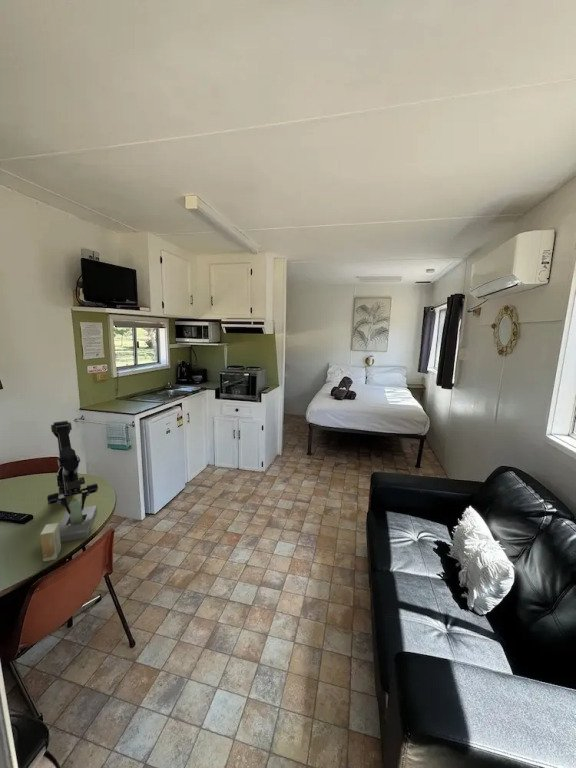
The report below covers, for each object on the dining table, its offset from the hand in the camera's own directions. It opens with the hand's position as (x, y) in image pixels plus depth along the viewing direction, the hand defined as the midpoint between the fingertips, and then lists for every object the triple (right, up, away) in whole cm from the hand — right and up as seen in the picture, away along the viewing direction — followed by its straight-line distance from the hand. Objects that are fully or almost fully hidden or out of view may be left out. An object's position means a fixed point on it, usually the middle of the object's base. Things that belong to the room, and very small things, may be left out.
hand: (76, 511), depth 135 cm
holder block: (-1, -7, +2) cm, 8 cm away
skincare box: (+1, -11, -15) cm, 19 cm away
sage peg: (-1, -6, +2) cm, 7 cm away
